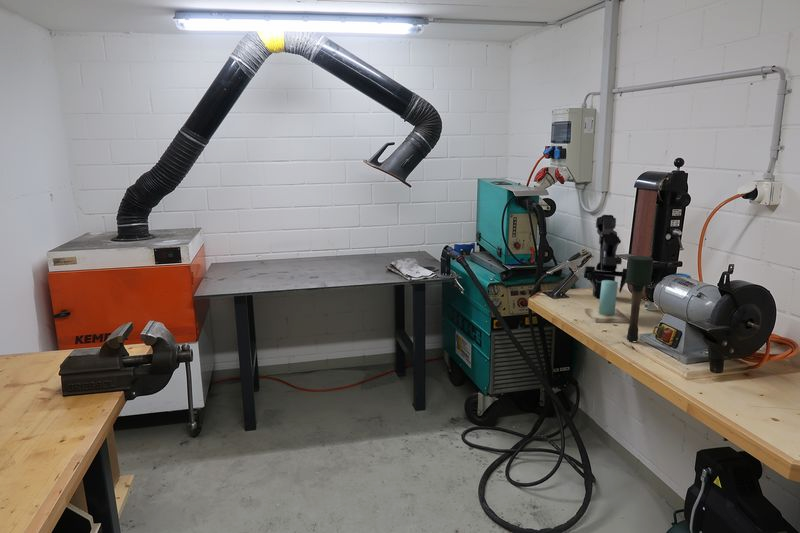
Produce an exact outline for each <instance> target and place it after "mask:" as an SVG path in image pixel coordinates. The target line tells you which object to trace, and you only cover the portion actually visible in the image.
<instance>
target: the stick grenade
mask: <svg viewBox="0 0 800 533" xmlns="http://www.w3.org/2000/svg"><path fill="white" fill-rule="evenodd" d="M653 266H654V258H653V257H650V256H647V255H646V256H645V255H631V256H630V255H629V256H628V257H627V267H626V269H627V275H626V280H625V284H627V285H629V286H632V288H631V290H632V291H631V292H632V293H631V307H630V317H629V326H628V328H627V334H626V339H627V341H628V340H629V341H628V342H630V341H637V342H638V340H639V316H640V310H641V303H642V291H643V287H644V286H650V285H652V283H653V282H652V273H653Z"/></svg>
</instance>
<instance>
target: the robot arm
mask: <svg viewBox="0 0 800 533" xmlns="http://www.w3.org/2000/svg"><path fill="white" fill-rule="evenodd" d="M616 223H617V218H616V217H614V215H612V214H601V216H598V217H596V220H595V228H596V233H597V234H598V235H599V236H598V245H599V262H598V263H597V264H596V266H593V265H592V266H591V265H585V267H584V270H583V279H586V280H587V281H590V284H591V285H592V286H593V287H592V294H591V295H592V296H593V297H595V298H596V299H600V293H601V282H602V281H603V280H611V281H616V277H617V278H618V277H620V278H621V280H620V284H619V289H618V291H619V292H618V293H619V294H621V293H622V290H623V288H624V286H625V284H626V283H625V280H626V275H627V268H625V267H624V268H622V271H617V269H618V265H622V263H623V260H622V259H623V258H622V259H621V258H619V257H617V250H618V246H619V245H620V244H621V242H622V241H621V239H620V236H618V232H617V231H615V230H614V229H616V226H617V224H616Z"/></svg>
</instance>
